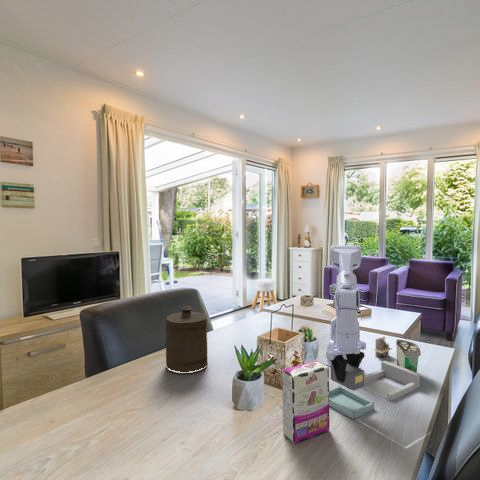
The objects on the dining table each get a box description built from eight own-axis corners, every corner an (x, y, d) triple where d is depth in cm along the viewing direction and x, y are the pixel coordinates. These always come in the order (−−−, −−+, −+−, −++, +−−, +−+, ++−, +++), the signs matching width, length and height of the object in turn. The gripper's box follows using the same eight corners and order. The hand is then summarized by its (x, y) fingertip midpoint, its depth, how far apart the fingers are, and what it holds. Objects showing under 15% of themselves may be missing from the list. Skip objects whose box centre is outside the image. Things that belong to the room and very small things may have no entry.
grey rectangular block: (330, 379, 100) (330, 364, 99) (341, 375, 102) (341, 360, 102) (353, 390, 93) (353, 374, 93) (364, 386, 95) (364, 370, 95)
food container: (425, 383, 110) (426, 353, 110) (404, 381, 112) (405, 351, 111) (414, 367, 122) (414, 339, 122) (395, 366, 124) (396, 338, 123)
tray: (319, 399, 101) (319, 393, 101) (339, 391, 105) (339, 385, 105) (353, 419, 91) (353, 412, 90) (374, 409, 95) (374, 403, 95)
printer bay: (355, 385, 110) (356, 371, 109) (384, 373, 118) (384, 360, 118) (390, 401, 99) (391, 386, 99) (419, 387, 108) (420, 373, 107)
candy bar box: (316, 421, 90) (317, 359, 89) (330, 431, 86) (330, 366, 85) (281, 433, 85) (281, 368, 84) (293, 445, 81) (293, 376, 80)
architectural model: (392, 357, 132) (392, 338, 132) (381, 362, 129) (381, 342, 128) (384, 354, 135) (384, 336, 135) (373, 358, 131) (373, 339, 131)
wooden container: (212, 359, 131) (211, 302, 130) (200, 376, 117) (199, 312, 116) (175, 356, 134) (174, 300, 133) (159, 373, 119) (158, 310, 118)
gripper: (340, 340, 90) (340, 391, 90) (375, 330, 97) (374, 377, 98) (320, 333, 95) (320, 381, 96) (354, 324, 103) (354, 368, 104)
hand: (346, 378), depth 98 cm, fingers closed on grey rectangular block, 4 cm apart
